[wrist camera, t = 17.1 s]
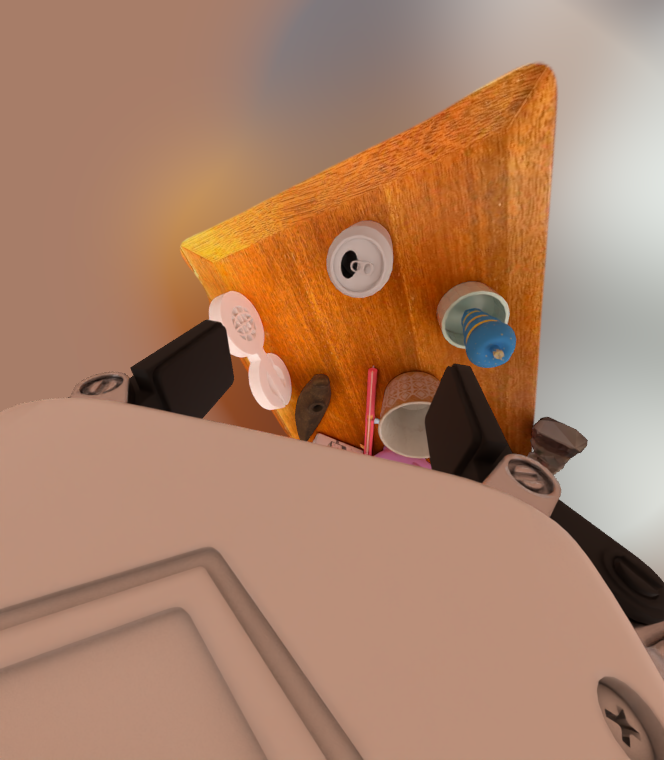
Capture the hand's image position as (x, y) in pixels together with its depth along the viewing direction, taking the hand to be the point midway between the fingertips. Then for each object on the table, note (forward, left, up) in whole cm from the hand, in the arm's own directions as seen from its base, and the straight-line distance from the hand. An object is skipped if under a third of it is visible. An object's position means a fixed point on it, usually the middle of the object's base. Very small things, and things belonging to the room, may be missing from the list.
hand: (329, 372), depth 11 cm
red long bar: (+30, +8, -31) cm, 44 cm away
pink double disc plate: (+18, -17, -32) cm, 41 cm away
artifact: (+22, -2, -30) cm, 38 cm away
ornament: (+6, +16, -32) cm, 36 cm away
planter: (+23, +12, -32) cm, 42 cm away
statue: (+23, +38, -30) cm, 53 cm away
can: (0, -1, -32) cm, 33 cm away
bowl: (+6, +16, -32) cm, 36 cm away
